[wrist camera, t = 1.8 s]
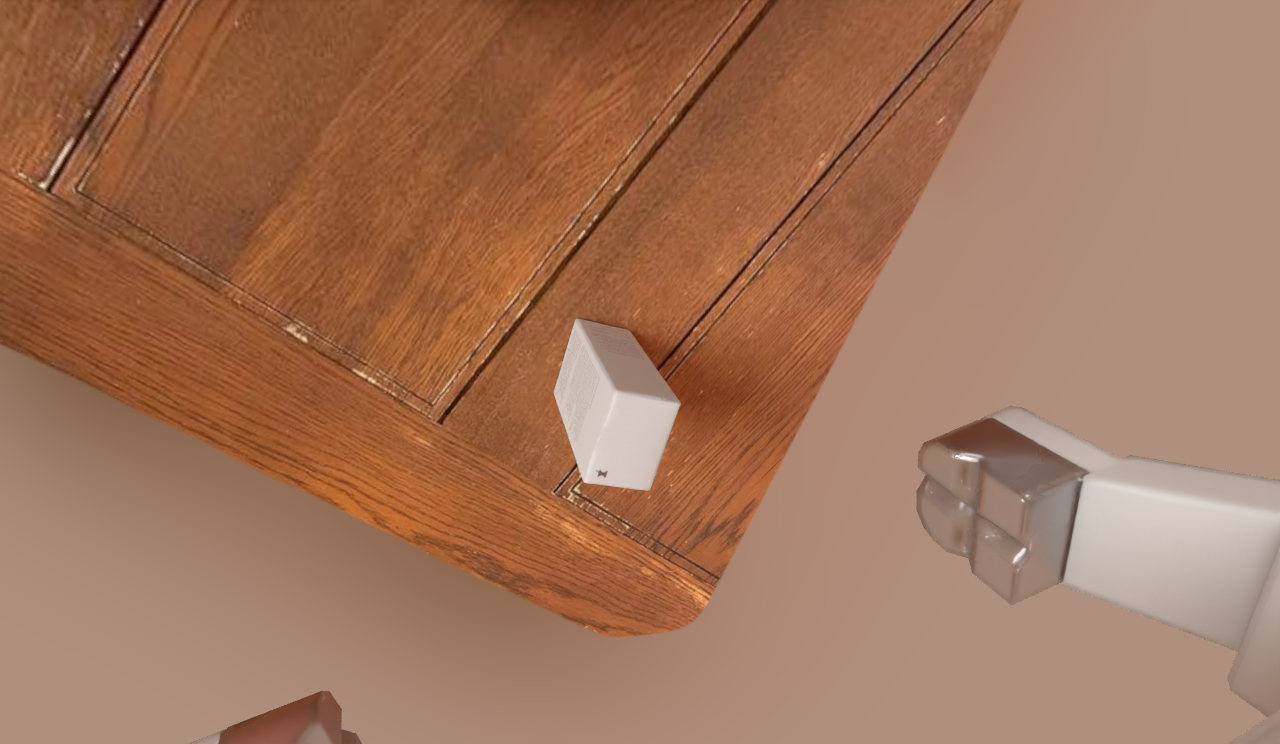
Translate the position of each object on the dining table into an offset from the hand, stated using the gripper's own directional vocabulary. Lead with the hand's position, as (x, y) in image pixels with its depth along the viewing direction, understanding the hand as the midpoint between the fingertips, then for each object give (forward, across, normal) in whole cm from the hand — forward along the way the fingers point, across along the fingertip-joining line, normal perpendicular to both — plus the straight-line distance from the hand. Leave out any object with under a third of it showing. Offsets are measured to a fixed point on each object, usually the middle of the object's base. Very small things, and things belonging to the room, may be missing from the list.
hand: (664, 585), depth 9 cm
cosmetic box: (+36, -7, +15) cm, 39 cm away
